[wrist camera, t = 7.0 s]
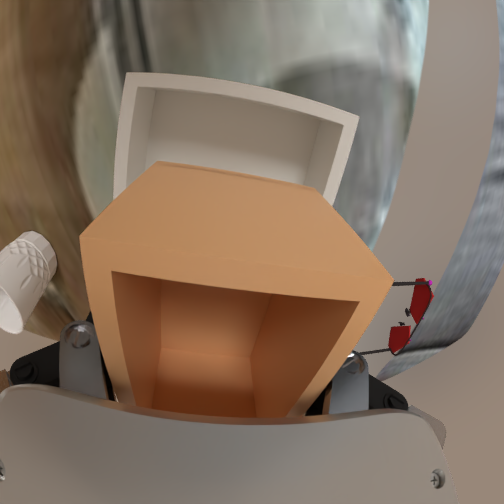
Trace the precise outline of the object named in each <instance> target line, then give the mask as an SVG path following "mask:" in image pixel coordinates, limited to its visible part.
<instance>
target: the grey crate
mask: <svg viewBox="0 0 504 504" xmlns="http://www.w3.org/2000/svg"><path fill="white" fill-rule="evenodd" d="M358 121H359V116H357V115H354V114H351V113H349V112H346V111H343V110H340V109H338V108H335V107H332V106H329V105H326V104H323V103H320V102H317V101H313V100H310V99H307V98H303V97H300V96H296V95H292V94H289V93H285V92H281V91H277V90H273V89H269V88H264V87H260V86H255V85H250V84H245V83H239V82H234V81H228V80H222V79H215V78H208V77H199V76H190V75H180V74H166V73H142V72H127V73H126V78H125V83H124V89H123V94H122V101H121V107H120V114H119V122H118V131H117V140H116V152H115V166H114V188H113V200H114V199H116V198H117V197H118V196H119V195H120V194H121V193H122V192H123V191H124V190H125V189H126V188H127V187H128V186H129V185H130V184H131V183H133V182H134V181H135V180H136V179H137V178H138V177H139V176H140V175H141V174H143V173H144V172H145V171H146V170H147V169H148V168H149V167H151V166H152V165H153V164H154V163H155V162H156V161H165V162H174V163H181V164H189V165H196V166H203V167H210V168H216V169H222V170H228V171H234V172H240V173H245V174H251V175H256V176H261V177H266V178H271V179H276V180H281V181H286V182H290V183H295V184H299V185H304V186H308V187H313V188H315V189H316V190H317V191H318V192H319V193H320V194H321V195H322V196H323V197H324V198H325V199H326V201H327V202H328V203H329V204H330V205H331V206H333V203H334V200H335V197H336V194H337V191H338V188H339V185H340V182H341V179H342V176H343V172H344V169H345V166H346V163H347V159H348V156H349V153H350V149H351V146H352V142H353V139H354V135H355V132H356V128H357V125H358Z"/></svg>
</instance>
